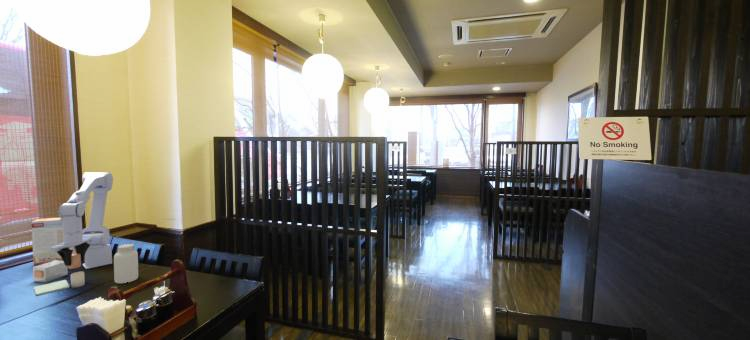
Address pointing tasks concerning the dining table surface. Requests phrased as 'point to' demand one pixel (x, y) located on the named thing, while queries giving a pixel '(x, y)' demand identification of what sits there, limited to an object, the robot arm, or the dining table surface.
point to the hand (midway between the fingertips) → (74, 263)
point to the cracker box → (47, 239)
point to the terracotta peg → (75, 261)
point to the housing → (49, 271)
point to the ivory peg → (77, 279)
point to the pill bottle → (125, 264)
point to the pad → (51, 287)
